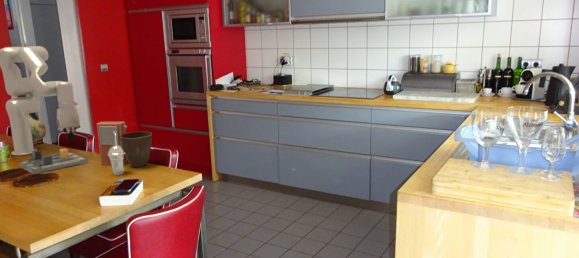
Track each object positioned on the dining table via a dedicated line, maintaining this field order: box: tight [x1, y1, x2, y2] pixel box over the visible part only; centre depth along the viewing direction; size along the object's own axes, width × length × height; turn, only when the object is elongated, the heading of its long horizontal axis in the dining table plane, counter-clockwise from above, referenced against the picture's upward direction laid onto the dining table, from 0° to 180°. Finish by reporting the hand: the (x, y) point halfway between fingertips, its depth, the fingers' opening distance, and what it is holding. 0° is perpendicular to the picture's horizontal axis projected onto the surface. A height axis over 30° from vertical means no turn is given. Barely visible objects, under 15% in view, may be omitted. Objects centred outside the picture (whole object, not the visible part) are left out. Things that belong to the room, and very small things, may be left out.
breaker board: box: [18, 149, 88, 175], centre depth 225 cm, size 22×26×7 cm
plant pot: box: [120, 131, 153, 168], centre depth 220 cm, size 15×15×16 cm
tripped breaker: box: [58, 148, 71, 159], centre depth 229 cm, size 4×5×5 cm
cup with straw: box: [107, 131, 126, 176], centre depth 207 cm, size 8×9×20 cm
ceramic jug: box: [24, 112, 47, 145], centre depth 272 cm, size 17×15×30 cm
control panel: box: [96, 121, 129, 165], centre depth 225 cm, size 21×7×15 cm
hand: (70, 140), depth 230 cm, fingers closed
